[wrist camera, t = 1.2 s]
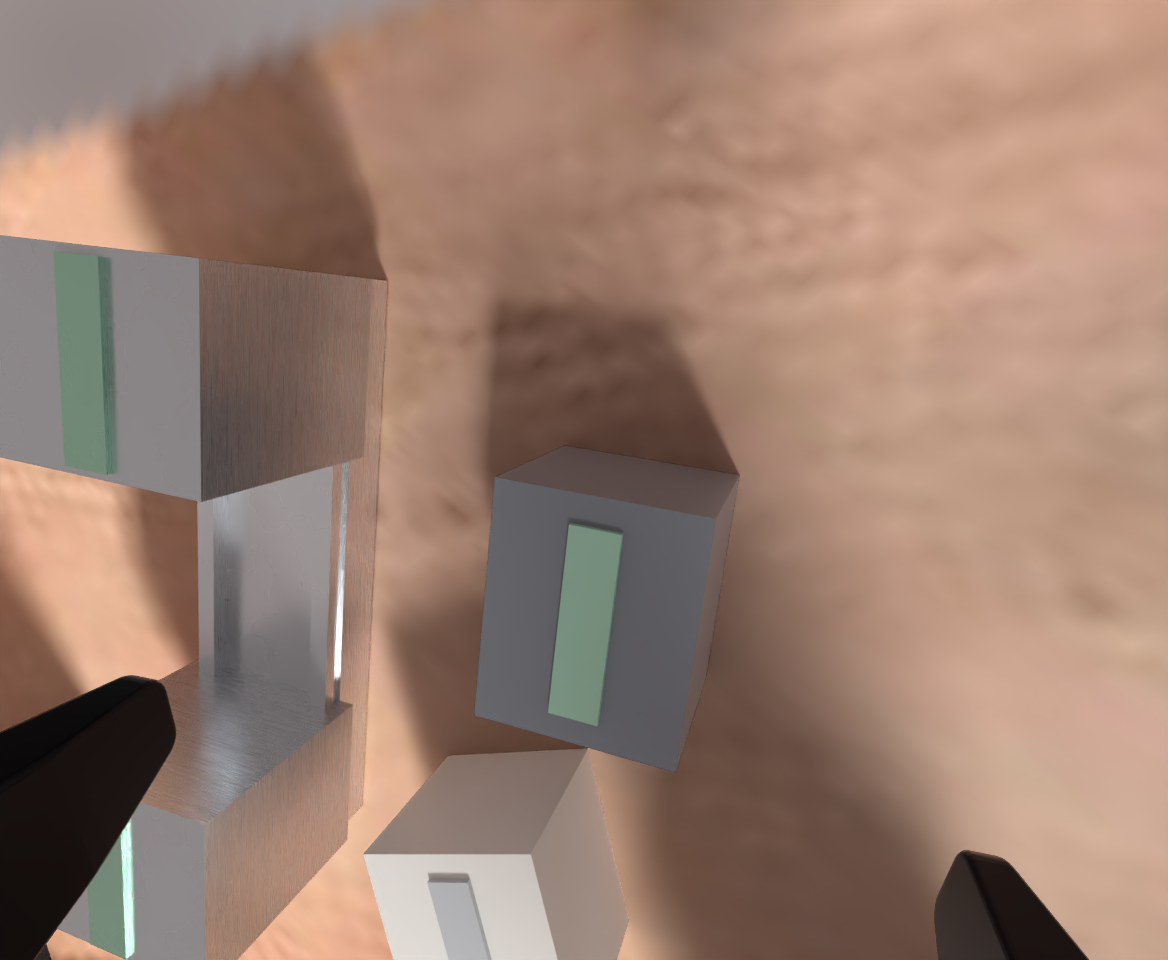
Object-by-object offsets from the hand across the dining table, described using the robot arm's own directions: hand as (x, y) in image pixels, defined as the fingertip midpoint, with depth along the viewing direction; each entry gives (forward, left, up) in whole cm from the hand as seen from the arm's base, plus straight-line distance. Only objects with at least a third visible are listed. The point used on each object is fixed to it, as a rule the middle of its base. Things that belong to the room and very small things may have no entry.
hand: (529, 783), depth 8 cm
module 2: (-12, +4, -13) cm, 18 cm away
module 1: (-2, +2, -13) cm, 13 cm away
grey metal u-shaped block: (-4, +13, -13) cm, 18 cm away
